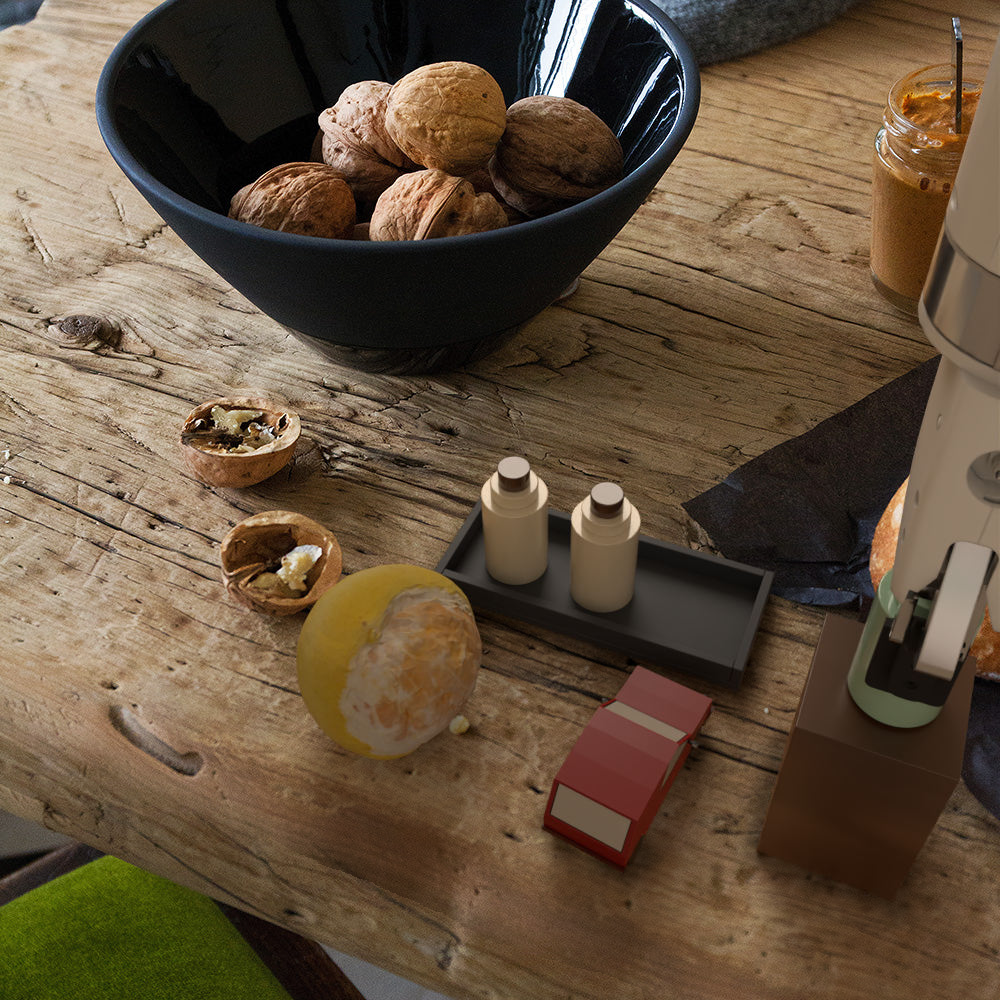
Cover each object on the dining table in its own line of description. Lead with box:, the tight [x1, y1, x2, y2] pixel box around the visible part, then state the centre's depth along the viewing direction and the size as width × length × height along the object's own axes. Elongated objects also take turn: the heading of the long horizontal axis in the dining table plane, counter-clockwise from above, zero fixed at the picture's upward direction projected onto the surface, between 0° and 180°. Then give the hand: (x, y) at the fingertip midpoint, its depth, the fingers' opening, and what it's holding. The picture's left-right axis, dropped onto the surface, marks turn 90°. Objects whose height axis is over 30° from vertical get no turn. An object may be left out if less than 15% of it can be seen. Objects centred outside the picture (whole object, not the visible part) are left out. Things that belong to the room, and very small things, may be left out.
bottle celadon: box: [848, 567, 986, 728], centre depth 44 cm, size 4×4×9 cm
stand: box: [755, 612, 978, 902], centre depth 51 cm, size 7×7×12 cm
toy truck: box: [541, 665, 716, 875], centre depth 56 cm, size 6×12×5 cm, turn 149°
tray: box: [433, 496, 776, 692], centre depth 66 cm, size 20×8×2 cm, turn 66°
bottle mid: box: [569, 481, 642, 613], centre depth 64 cm, size 4×4×9 cm
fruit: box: [295, 563, 483, 761], centre depth 58 cm, size 10×11×10 cm
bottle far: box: [480, 456, 549, 585], centre depth 65 cm, size 4×4×9 cm
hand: (913, 644), depth 44 cm, fingers closed on bottle celadon, 4 cm apart
